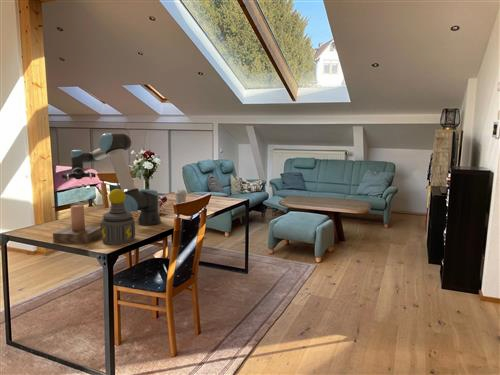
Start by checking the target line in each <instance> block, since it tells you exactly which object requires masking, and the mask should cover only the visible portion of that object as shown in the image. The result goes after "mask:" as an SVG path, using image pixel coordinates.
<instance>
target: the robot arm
mask: <svg viewBox="0 0 500 375" xmlns="http://www.w3.org/2000/svg"><path fill="white" fill-rule="evenodd" d="M98 147H99V148H97V149H95V150H93V151H88V152H87V151H85V152H84V151H83V150H81V149H73V150H71V152H70V158H71V159H70V160H71V173H70V172H66V173H63V174H61V178H62V179H65V180H67V181H69V179H71V178H73V179H75V180H82V179H83V178H89V179H90V180H92V179H93V178H96V173H95V172H90V171H88V172H85V171H84V164H86V163H87V164H88V163H98V162H100V161H101V160H102V159H104V158H107V157H109V159H110V161H111V164H112V167H113V170H114V173H115V175H116V176H115V177H116V178H117V181H118V183H119V184H118V185H119V186H120V187H119V188H120V190H122V191H123V192H124V193H125V195H126V198H125V201H124V202H123V203H124V206H125V208H124V209H125V210H126V211H128V212H131V213H135V212H138V211H139V215H138V219H137V224H138V225H142V226H155V224H156V225H159V224H161V223H162V218H161V215H160V212H159V213H158V201H159V195H158V191H157V190H156V189H148V188H145V189H143V188H141V189H140V190H139V188H138V187H136V186H135V183H134V180H133V178H132V175H131V173H130V169H129V166H128V164H127V162H126V158H125V156H124V152H125V151H128V150H129V149H130V148H131V147H132V139H131V136H129V135H127V134H125V133H110V132H108V133H103V134H101V135H100V137H99V140H98Z"/></svg>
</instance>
